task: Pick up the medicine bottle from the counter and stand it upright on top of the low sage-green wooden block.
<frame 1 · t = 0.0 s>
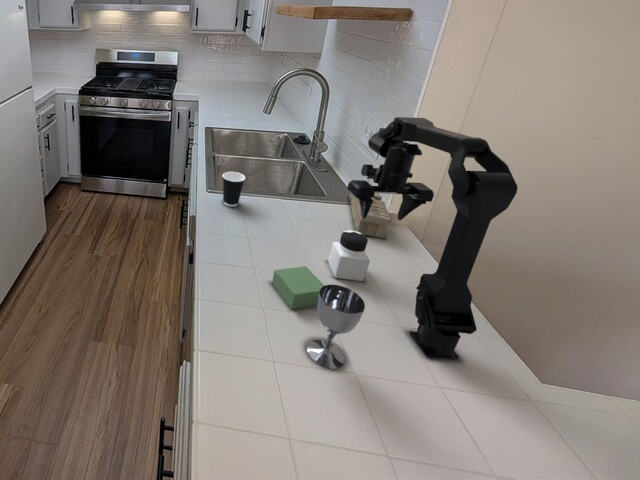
hand: (380, 218, 103), 15 cm above the worktop, tool pointing down, fingers open, 9 cm apart
dixie cup: (230, 203, 140), on the worktop
block tower: (364, 216, 132), on the worktop
medicine bottle: (344, 272, 105), on the worktop
wine glass: (325, 354, 81), on the worktop
green block: (297, 293, 97), on the worktop
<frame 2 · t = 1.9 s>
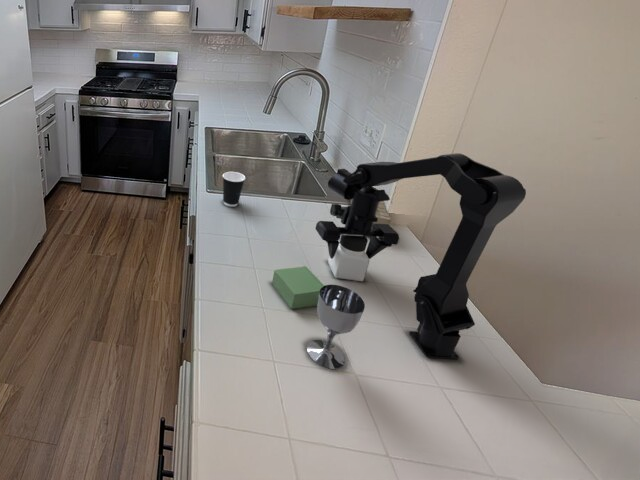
hand: (348, 258, 104), 4 cm above the worktop, tool pointing down
medicine bottle: (344, 272, 105), on the worktop, touching gripper
everything else where it was.
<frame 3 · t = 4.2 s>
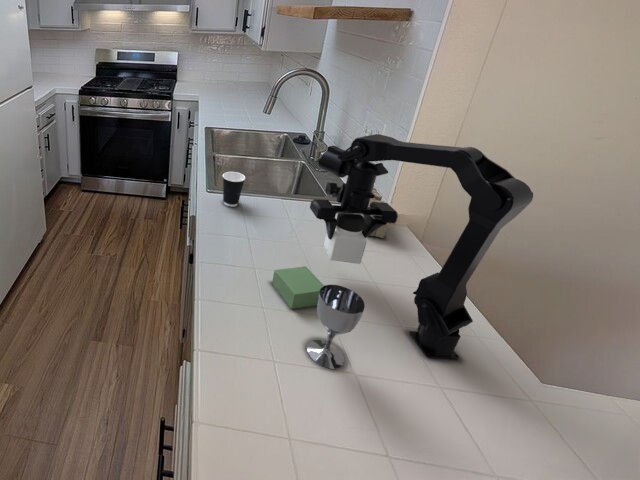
hand: (345, 239, 99), 12 cm above the worktop, tool pointing down, fingers closed on medicine bottle, 7 cm apart
medicine bottle: (340, 255, 100), point 7 cm above the worktop, touching gripper
everything else where it was.
when the fingers open (9 cm above the worktop, at t = 6.4 s): medicine bottle stays where it is, resting on green block.
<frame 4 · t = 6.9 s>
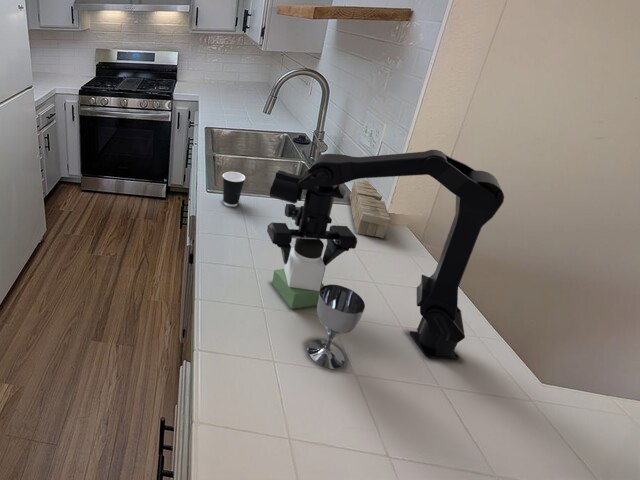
hand: (304, 264, 93), 9 cm above the worktop, tool pointing down, fingers open, 9 cm apart
medicine bottle: (300, 280, 95), point 4 cm above the worktop, touching green block
green block: (297, 293, 97), on the worktop, touching medicine bottle
everything else where it was.
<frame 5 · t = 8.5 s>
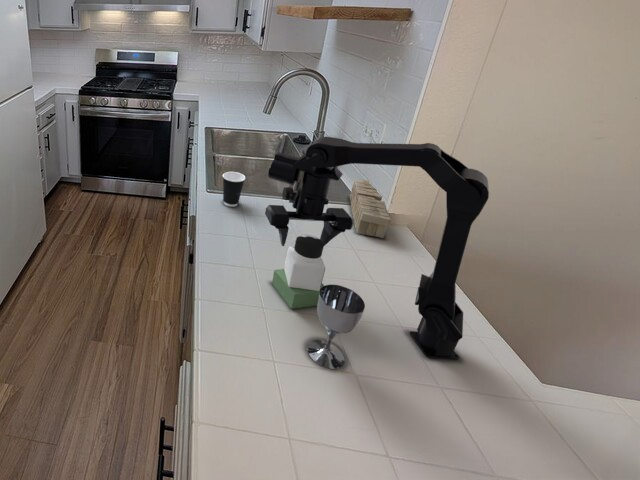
hand: (301, 246, 95), 12 cm above the worktop, tool pointing down, fingers open, 9 cm apart
nothing on the worktop moved.
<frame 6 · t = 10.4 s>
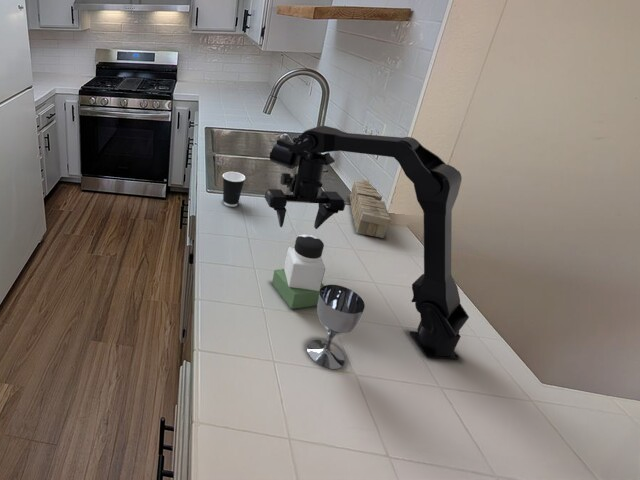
hand: (297, 227, 103), 12 cm above the worktop, tool pointing down, fingers open, 9 cm apart
nothing on the worktop moved.
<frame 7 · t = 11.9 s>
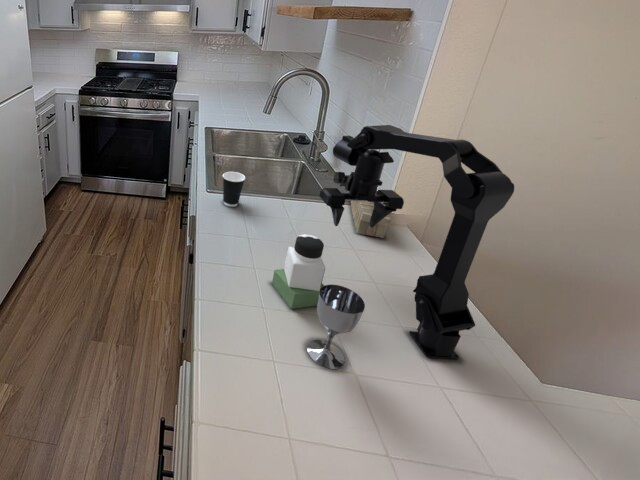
hand: (353, 226, 103), 13 cm above the worktop, tool pointing down, fingers open, 9 cm apart
nothing on the worktop moved.
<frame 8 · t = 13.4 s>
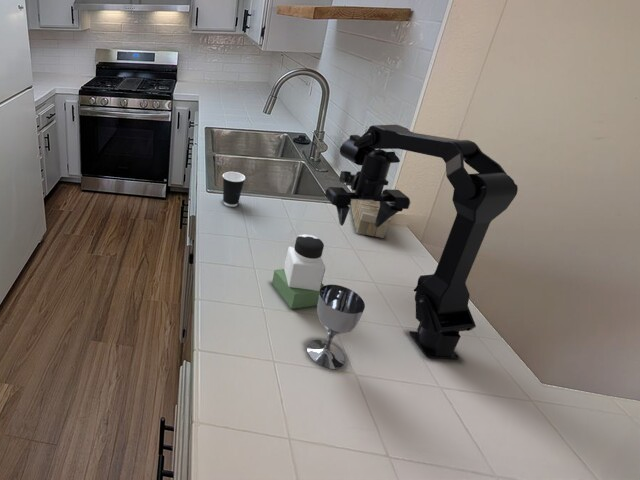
hand: (358, 225, 103), 13 cm above the worktop, tool pointing down, fingers open, 9 cm apart
nothing on the worktop moved.
at the end: medicine bottle 0.2 cm off-centre on the green block, point 4.3 cm above the green block's base; medicine bottle tilted 0°; the gripper is holding nothing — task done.
